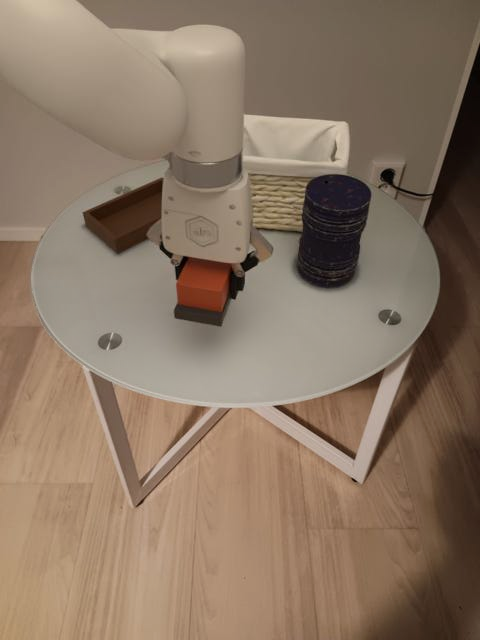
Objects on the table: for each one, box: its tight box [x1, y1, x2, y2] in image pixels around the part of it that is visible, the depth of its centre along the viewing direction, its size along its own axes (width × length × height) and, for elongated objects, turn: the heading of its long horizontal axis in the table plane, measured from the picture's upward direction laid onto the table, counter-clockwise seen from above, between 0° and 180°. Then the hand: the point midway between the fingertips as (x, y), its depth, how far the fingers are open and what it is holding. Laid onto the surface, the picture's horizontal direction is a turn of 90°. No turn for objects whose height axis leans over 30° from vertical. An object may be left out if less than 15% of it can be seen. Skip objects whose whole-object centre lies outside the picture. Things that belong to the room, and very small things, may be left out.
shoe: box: [173, 257, 233, 328], centre depth 65 cm, size 12×6×5 cm, turn 167°
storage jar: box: [296, 174, 373, 289], centre depth 80 cm, size 10×10×15 cm
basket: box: [243, 113, 351, 233], centre depth 92 cm, size 24×16×15 cm
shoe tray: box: [82, 177, 164, 254], centre depth 94 cm, size 18×11×3 cm, turn 132°
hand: (210, 287), depth 66 cm, fingers closed on shoe, 6 cm apart
